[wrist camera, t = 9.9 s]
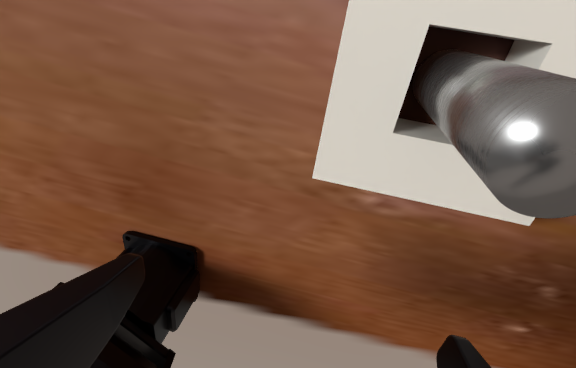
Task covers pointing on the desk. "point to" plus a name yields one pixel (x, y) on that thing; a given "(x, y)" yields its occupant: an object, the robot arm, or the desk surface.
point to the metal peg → (506, 127)
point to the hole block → (394, 83)
